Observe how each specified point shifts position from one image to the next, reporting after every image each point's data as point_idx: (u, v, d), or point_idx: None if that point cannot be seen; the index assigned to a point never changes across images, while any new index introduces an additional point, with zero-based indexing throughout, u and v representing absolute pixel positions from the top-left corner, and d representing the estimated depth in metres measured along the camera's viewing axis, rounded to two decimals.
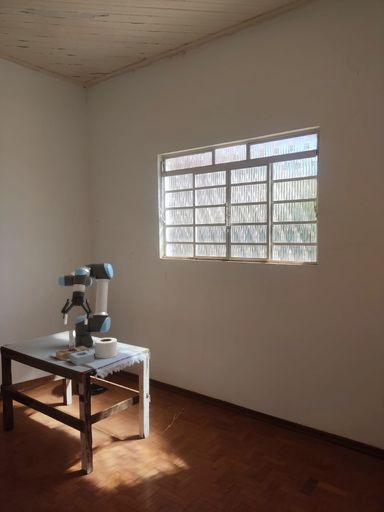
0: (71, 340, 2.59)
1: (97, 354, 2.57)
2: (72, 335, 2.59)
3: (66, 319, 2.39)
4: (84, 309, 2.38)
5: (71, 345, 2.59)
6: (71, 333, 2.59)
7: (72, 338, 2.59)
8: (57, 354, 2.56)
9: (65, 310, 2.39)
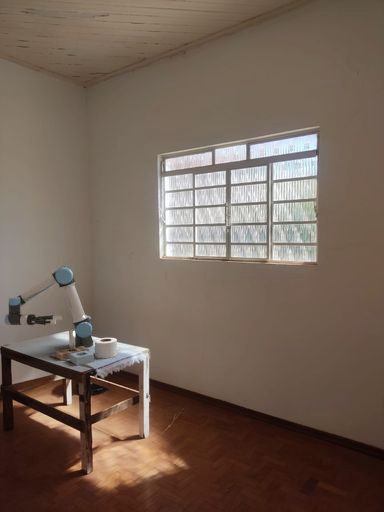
0: (71, 340, 2.59)
1: (97, 354, 2.57)
2: (72, 335, 2.59)
3: (57, 317, 2.67)
4: None
5: (71, 345, 2.59)
6: (71, 333, 2.59)
7: (72, 338, 2.59)
8: (57, 354, 2.56)
9: None
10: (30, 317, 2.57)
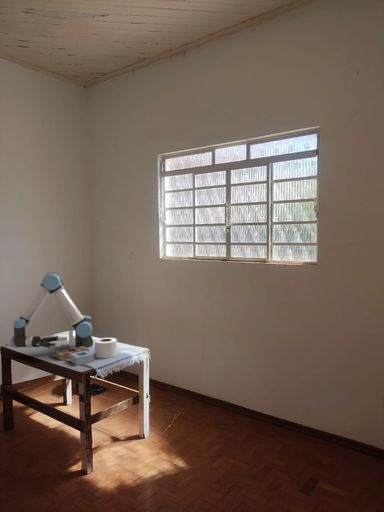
0: (71, 340, 2.59)
1: (97, 354, 2.57)
2: (72, 335, 2.59)
3: (62, 338, 2.67)
4: None
5: (71, 345, 2.59)
6: (71, 333, 2.59)
7: (72, 338, 2.59)
8: (57, 354, 2.56)
9: (54, 340, 2.68)
10: (35, 339, 2.58)
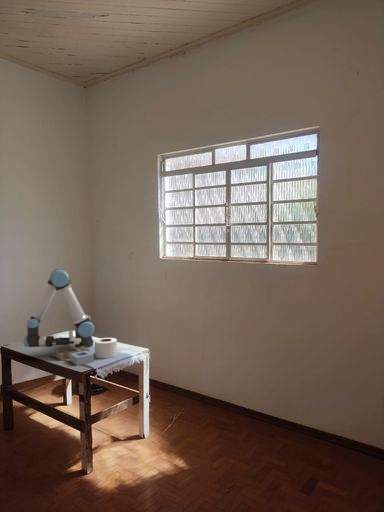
0: None
1: (97, 354, 2.57)
2: (72, 335, 2.59)
3: (76, 339, 2.63)
4: None
5: (71, 345, 2.59)
6: (71, 333, 2.59)
7: (72, 338, 2.59)
8: (57, 354, 2.56)
9: None
10: (48, 339, 2.58)
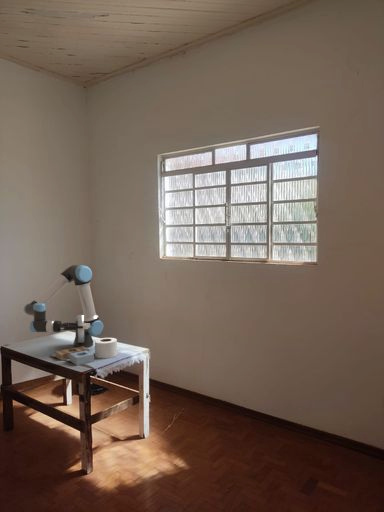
0: None
1: (97, 354, 2.57)
2: (81, 320, 2.46)
3: (85, 324, 2.50)
4: None
5: (80, 330, 2.47)
6: (80, 318, 2.46)
7: (81, 323, 2.46)
8: (57, 354, 2.56)
9: None
10: (56, 324, 2.45)
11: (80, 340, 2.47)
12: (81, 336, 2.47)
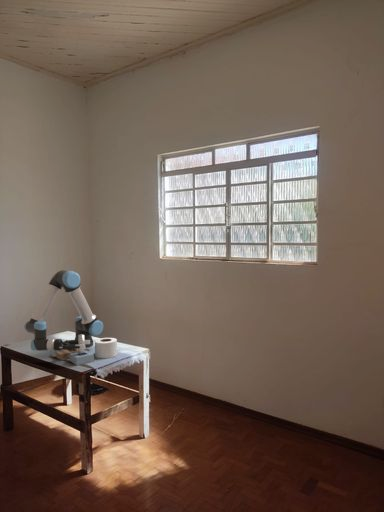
0: None
1: (97, 354, 2.57)
2: (81, 339, 2.47)
3: (85, 341, 2.54)
4: None
5: (80, 350, 2.47)
6: (80, 337, 2.47)
7: (81, 343, 2.47)
8: (57, 354, 2.56)
9: (77, 343, 2.55)
10: (57, 342, 2.46)
11: None
12: None
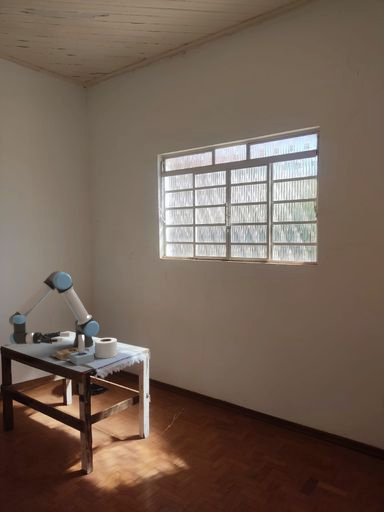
0: (80, 345, 2.47)
1: (97, 354, 2.57)
2: (81, 340, 2.47)
3: (64, 334, 2.55)
4: None
5: (80, 350, 2.47)
6: (80, 337, 2.47)
7: (81, 343, 2.47)
8: (57, 354, 2.56)
9: (56, 336, 2.55)
10: (36, 335, 2.45)
11: None
12: None
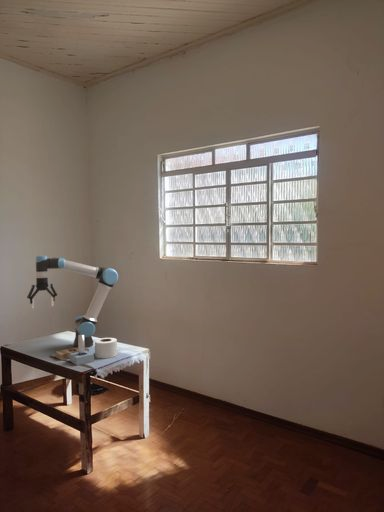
0: (80, 345, 2.47)
1: (97, 354, 2.57)
2: (81, 340, 2.47)
3: (51, 301, 2.66)
4: None
5: (80, 350, 2.47)
6: (80, 337, 2.47)
7: (81, 343, 2.47)
8: (57, 354, 2.56)
9: None
10: (38, 281, 2.58)
11: None
12: None
